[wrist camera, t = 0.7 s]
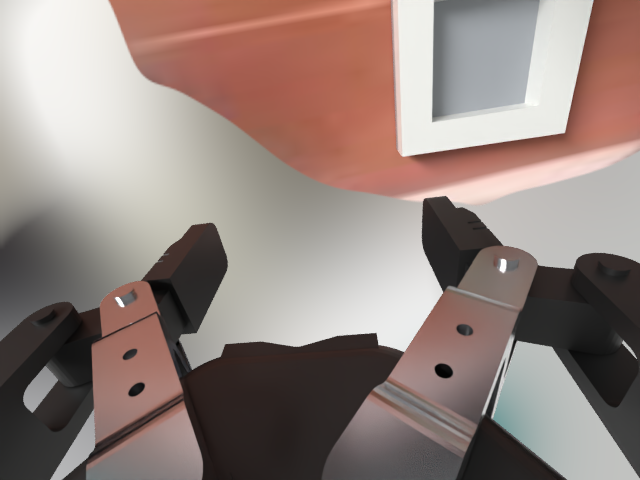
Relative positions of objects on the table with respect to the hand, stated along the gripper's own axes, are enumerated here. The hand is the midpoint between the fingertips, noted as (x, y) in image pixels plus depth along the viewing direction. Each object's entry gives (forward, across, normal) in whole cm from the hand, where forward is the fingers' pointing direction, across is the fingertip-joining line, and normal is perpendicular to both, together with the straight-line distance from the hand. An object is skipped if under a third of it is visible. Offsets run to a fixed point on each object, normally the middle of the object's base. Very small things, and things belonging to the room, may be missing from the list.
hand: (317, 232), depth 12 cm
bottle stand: (+26, -15, -4) cm, 31 cm away
